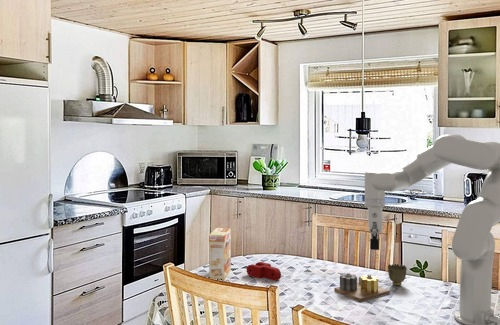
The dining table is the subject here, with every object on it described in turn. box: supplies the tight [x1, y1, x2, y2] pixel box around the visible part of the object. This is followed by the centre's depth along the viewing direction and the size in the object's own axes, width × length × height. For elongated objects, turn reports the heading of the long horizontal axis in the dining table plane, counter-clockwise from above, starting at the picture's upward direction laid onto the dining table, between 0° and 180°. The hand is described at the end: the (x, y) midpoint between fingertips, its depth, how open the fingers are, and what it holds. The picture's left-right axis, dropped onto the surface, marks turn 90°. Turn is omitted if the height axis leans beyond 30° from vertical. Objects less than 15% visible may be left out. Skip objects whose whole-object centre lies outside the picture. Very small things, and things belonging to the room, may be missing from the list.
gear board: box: [333, 272, 391, 303], centre depth 186 cm, size 14×16×7 cm
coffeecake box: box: [208, 227, 232, 281], centre depth 209 cm, size 15×7×20 cm, turn 171°
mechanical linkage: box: [246, 261, 282, 281], centre depth 207 cm, size 16×7×5 cm, turn 46°
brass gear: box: [361, 275, 379, 293], centre depth 185 cm, size 7×7×5 cm
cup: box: [387, 263, 408, 287], centre depth 194 cm, size 8×7×8 cm
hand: (374, 246), depth 183 cm, fingers open, 9 cm apart
